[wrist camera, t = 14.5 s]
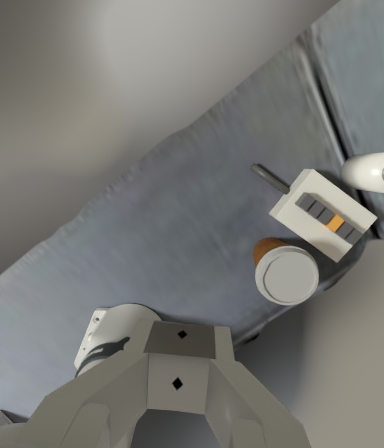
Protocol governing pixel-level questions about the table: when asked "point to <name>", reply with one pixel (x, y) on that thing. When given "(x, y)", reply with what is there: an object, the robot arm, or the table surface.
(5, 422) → the ink cartridge box
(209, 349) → the robot arm
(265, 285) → the disposable coffee cup
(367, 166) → the white hollow cylinder
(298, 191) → the power strip
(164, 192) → the table surface
